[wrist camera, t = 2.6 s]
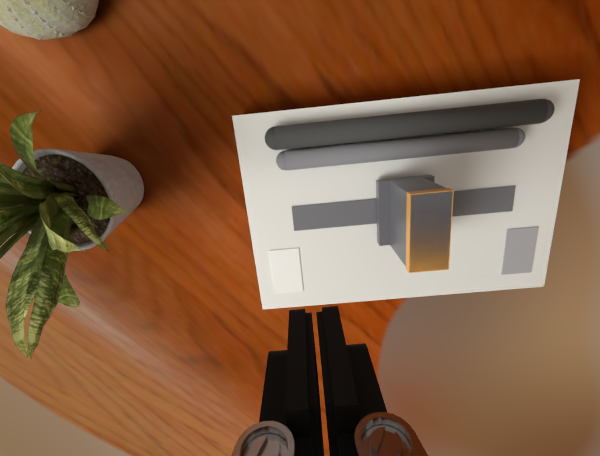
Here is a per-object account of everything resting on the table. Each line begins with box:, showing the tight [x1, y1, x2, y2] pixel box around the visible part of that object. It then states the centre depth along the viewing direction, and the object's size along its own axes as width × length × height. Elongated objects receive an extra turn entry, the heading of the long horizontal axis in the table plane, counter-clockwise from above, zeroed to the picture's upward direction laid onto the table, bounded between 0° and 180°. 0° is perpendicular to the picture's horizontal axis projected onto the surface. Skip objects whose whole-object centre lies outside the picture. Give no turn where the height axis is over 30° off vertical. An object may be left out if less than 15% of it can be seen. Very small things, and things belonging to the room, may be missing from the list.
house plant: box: [0, 110, 144, 361], centre depth 19 cm, size 14×14×16 cm
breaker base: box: [232, 79, 580, 309], centre depth 25 cm, size 24×16×5 cm, turn 96°
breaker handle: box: [376, 175, 454, 273], centre depth 21 cm, size 4×5×5 cm
